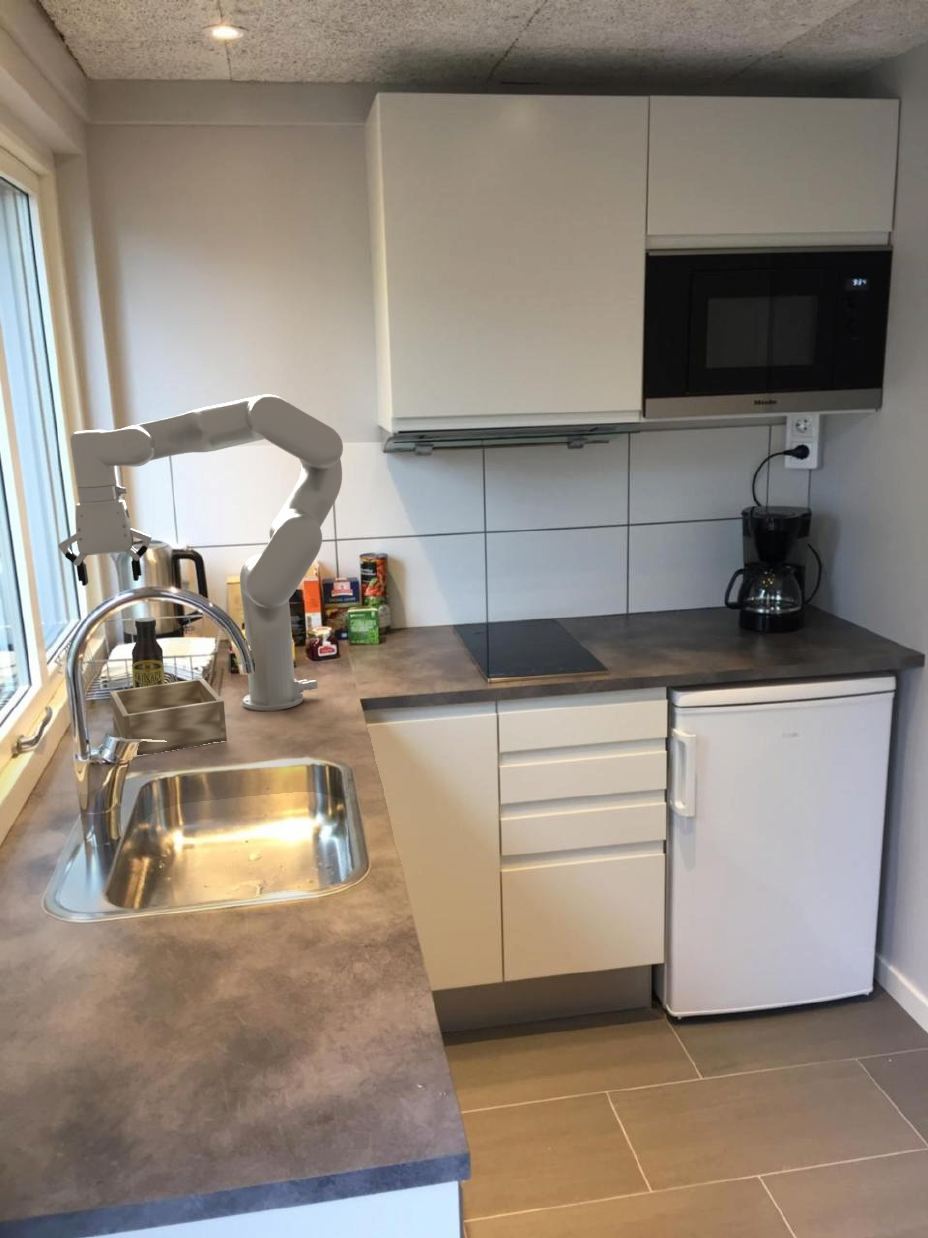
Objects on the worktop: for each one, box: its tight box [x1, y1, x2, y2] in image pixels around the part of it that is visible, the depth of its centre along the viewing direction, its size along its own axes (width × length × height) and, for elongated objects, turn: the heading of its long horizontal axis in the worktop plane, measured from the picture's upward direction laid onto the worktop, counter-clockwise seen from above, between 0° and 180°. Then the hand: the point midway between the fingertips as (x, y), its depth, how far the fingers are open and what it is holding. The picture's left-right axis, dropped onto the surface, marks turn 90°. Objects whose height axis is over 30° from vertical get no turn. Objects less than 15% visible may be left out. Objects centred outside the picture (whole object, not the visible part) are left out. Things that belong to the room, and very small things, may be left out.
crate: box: [109, 678, 228, 755], centre depth 193 cm, size 18×18×8 cm
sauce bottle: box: [131, 617, 166, 688], centre depth 206 cm, size 6×6×20 cm
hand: (111, 582), depth 199 cm, fingers open, 9 cm apart
